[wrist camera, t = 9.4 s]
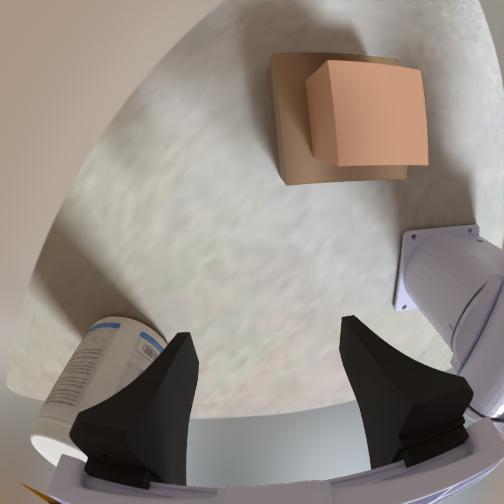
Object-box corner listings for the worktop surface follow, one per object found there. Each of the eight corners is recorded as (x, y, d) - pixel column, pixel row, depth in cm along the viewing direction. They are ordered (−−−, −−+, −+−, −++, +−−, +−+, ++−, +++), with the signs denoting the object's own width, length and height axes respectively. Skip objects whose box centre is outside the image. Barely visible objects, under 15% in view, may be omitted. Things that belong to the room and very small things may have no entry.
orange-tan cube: (378, 83, 14) (420, 70, 9) (384, 155, 16) (428, 165, 11) (305, 81, 14) (327, 60, 9) (313, 157, 16) (338, 166, 11)
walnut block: (373, 70, 17) (397, 59, 13) (382, 170, 20) (407, 179, 16) (268, 69, 17) (272, 53, 13) (279, 176, 20) (286, 185, 16)
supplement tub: (94, 364, 28) (45, 465, 14) (89, 299, 24) (7, 412, 11) (172, 389, 29) (146, 505, 15) (182, 328, 25) (141, 473, 12)
